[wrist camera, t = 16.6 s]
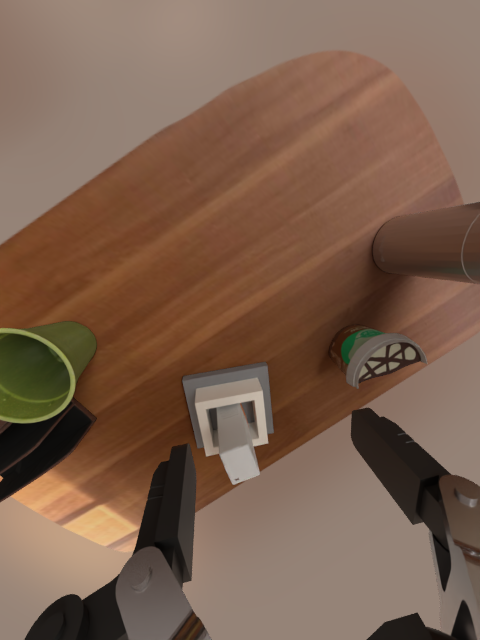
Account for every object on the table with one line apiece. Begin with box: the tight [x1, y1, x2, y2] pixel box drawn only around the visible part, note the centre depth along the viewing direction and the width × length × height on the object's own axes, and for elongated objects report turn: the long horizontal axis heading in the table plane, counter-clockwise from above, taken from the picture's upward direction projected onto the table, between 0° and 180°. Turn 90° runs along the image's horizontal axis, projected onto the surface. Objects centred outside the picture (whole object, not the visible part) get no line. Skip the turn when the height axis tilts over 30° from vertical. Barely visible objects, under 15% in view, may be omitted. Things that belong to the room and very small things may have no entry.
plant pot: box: [0, 321, 97, 423], centre depth 31 cm, size 12×12×11 cm
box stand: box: [182, 362, 274, 456], centre depth 41 cm, size 15×15×6 cm
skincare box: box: [216, 403, 260, 485], centre depth 36 cm, size 6×4×12 cm
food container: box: [329, 324, 427, 389], centre depth 38 cm, size 12×6×10 cm, turn 108°
